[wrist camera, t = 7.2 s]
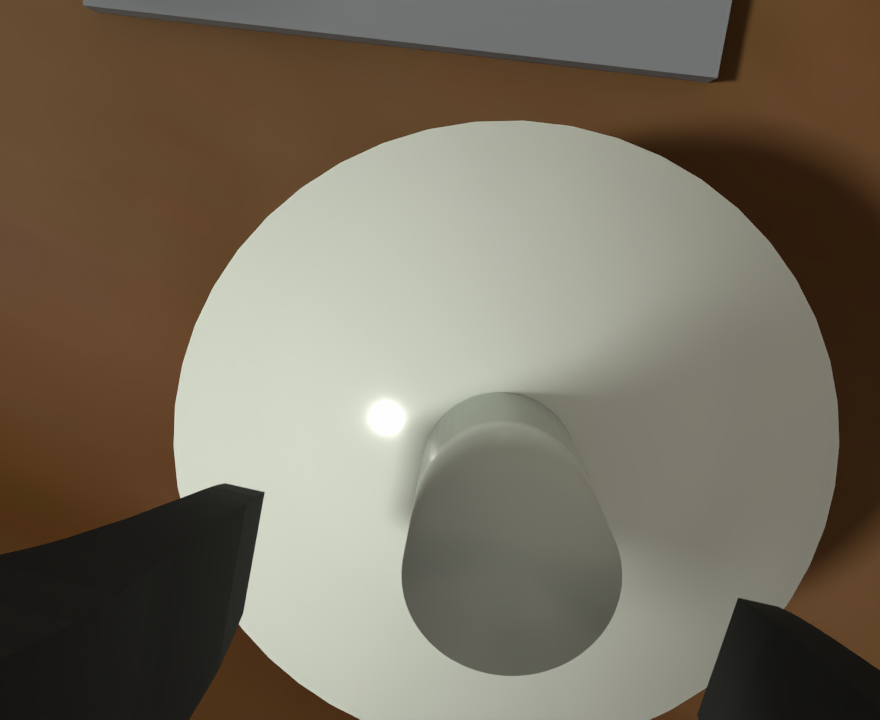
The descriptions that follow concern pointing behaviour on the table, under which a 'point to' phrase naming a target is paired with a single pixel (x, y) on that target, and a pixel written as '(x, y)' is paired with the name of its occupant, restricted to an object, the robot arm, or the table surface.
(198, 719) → the table surface
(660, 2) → the mat
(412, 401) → the lid
